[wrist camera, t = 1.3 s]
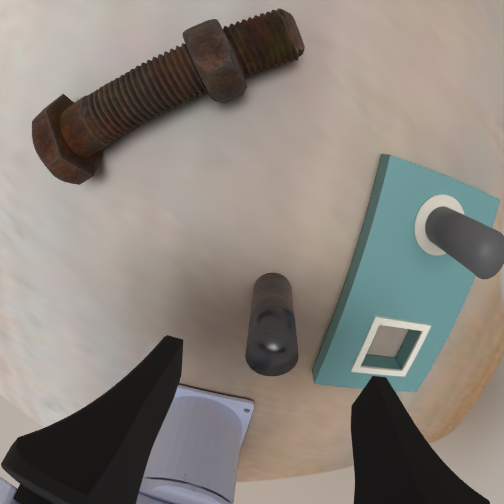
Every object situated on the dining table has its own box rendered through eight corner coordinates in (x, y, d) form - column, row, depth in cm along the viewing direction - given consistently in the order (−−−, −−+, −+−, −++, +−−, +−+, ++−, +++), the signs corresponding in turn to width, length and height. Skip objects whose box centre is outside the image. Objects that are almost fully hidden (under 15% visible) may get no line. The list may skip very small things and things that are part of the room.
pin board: (410, 380, 23) (438, 440, 16) (312, 370, 23) (321, 442, 16) (487, 195, 17) (554, 220, 11) (381, 154, 17) (437, 162, 11)
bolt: (293, 61, 17) (91, 153, 20) (268, -8, 14) (54, 99, 16) (326, 85, 13) (68, 202, 16) (296, -9, 10) (16, 137, 12)
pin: (286, 309, 21) (290, 379, 14) (250, 302, 21) (241, 371, 14) (295, 277, 20) (304, 340, 14) (258, 269, 20) (251, 330, 13)
